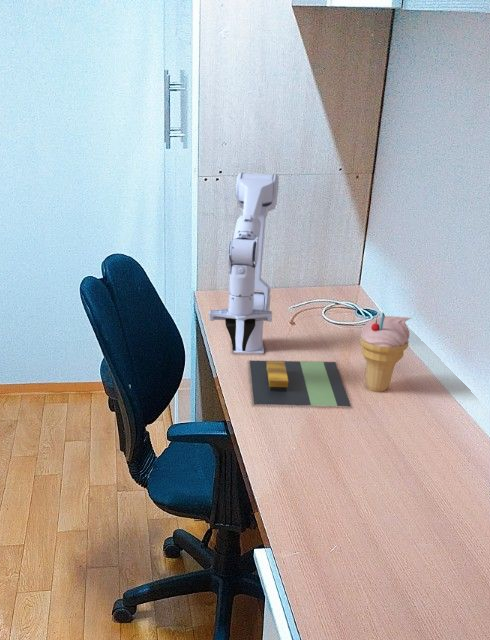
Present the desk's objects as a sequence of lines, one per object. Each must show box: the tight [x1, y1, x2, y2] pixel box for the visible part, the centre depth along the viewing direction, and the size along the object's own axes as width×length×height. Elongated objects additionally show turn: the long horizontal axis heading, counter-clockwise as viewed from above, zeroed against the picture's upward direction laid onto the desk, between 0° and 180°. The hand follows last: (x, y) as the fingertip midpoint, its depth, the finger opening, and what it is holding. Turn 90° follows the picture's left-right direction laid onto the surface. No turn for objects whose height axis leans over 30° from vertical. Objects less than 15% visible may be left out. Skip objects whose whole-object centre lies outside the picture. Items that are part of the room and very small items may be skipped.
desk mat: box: [249, 360, 351, 407], centre depth 178 cm, size 26×22×1 cm
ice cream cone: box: [359, 312, 412, 393], centre depth 170 cm, size 11×11×20 cm
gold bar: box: [266, 360, 288, 391], centre depth 177 cm, size 12×4×3 cm, turn 178°
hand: (238, 349), depth 174 cm, fingers closed
